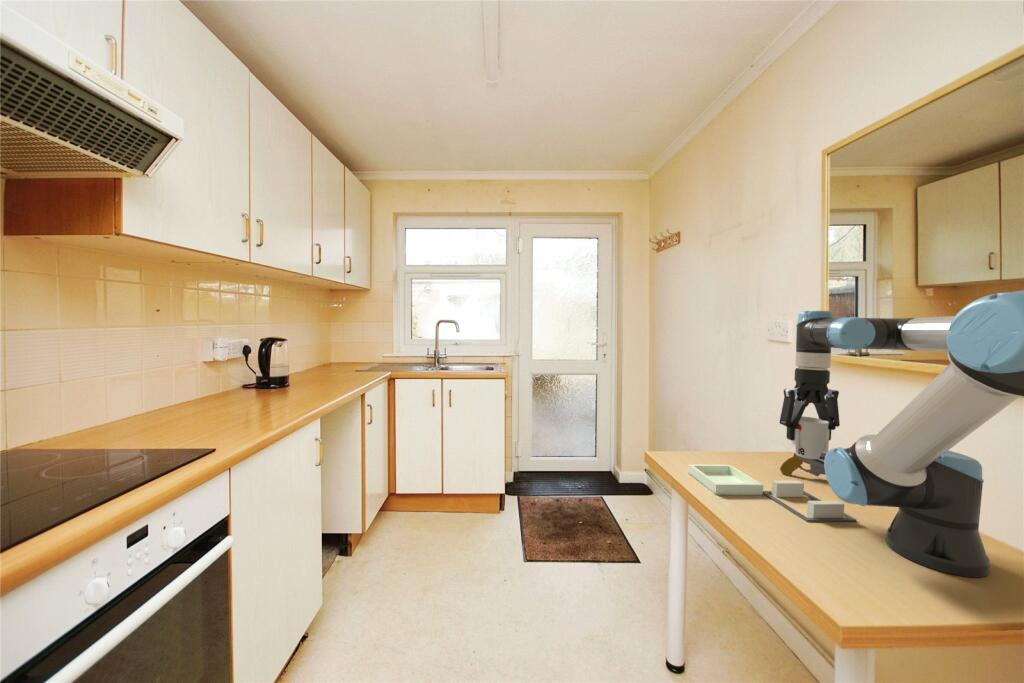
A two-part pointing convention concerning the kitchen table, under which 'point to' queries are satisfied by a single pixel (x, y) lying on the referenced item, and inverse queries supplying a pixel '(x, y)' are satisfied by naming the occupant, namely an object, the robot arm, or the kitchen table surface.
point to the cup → (811, 437)
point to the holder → (809, 503)
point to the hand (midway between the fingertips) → (807, 451)
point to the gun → (796, 461)
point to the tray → (725, 480)
